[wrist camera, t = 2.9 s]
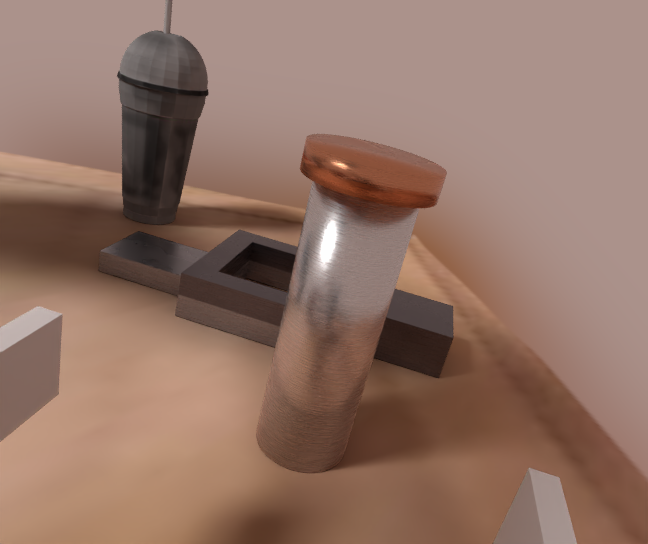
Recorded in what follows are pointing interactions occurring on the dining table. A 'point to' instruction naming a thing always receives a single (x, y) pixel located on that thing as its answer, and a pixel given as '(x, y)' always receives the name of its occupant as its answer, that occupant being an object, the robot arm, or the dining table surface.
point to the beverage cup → (158, 120)
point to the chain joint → (267, 293)
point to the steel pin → (339, 293)
